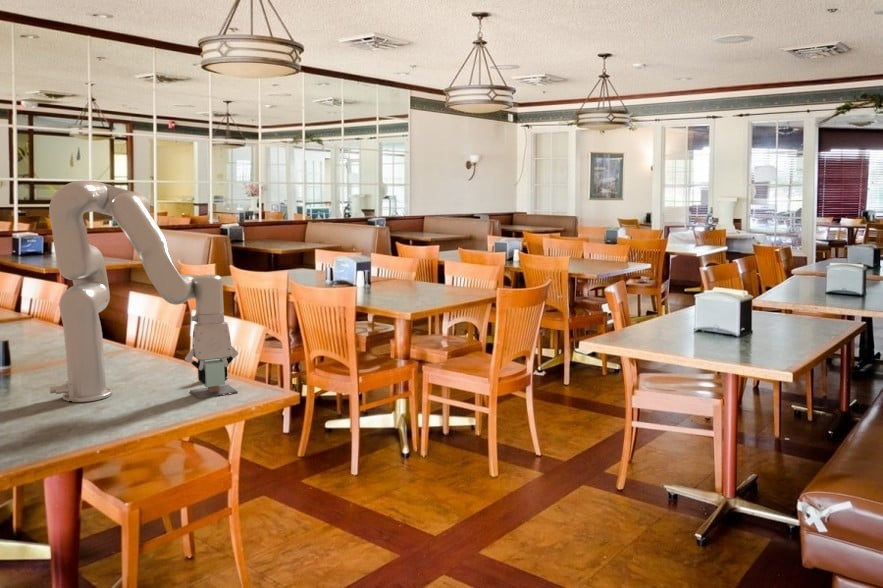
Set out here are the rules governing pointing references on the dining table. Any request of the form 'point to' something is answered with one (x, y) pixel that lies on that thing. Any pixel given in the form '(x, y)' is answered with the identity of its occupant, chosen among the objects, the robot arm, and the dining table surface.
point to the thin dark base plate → (213, 391)
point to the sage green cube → (214, 373)
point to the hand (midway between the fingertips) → (213, 380)
